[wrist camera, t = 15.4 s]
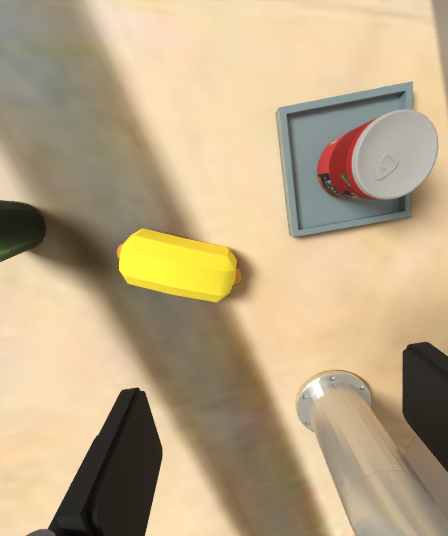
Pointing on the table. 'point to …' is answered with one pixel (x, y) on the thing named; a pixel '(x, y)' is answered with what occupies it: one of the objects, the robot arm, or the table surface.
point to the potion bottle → (19, 228)
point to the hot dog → (178, 265)
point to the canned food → (380, 157)
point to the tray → (312, 146)
